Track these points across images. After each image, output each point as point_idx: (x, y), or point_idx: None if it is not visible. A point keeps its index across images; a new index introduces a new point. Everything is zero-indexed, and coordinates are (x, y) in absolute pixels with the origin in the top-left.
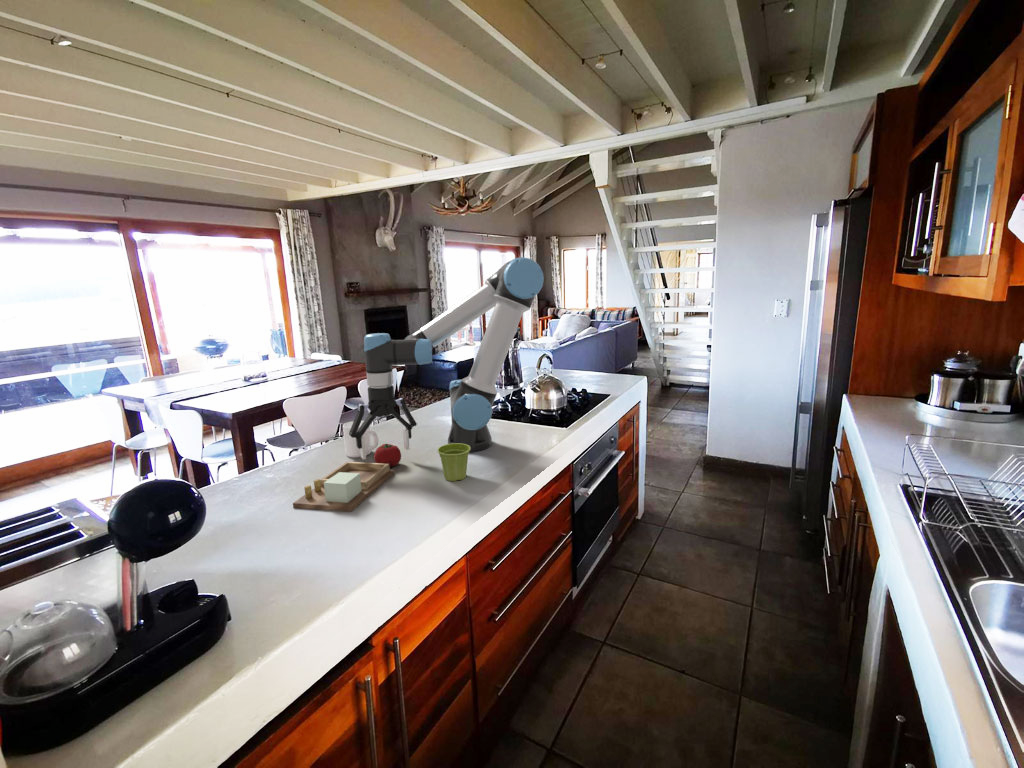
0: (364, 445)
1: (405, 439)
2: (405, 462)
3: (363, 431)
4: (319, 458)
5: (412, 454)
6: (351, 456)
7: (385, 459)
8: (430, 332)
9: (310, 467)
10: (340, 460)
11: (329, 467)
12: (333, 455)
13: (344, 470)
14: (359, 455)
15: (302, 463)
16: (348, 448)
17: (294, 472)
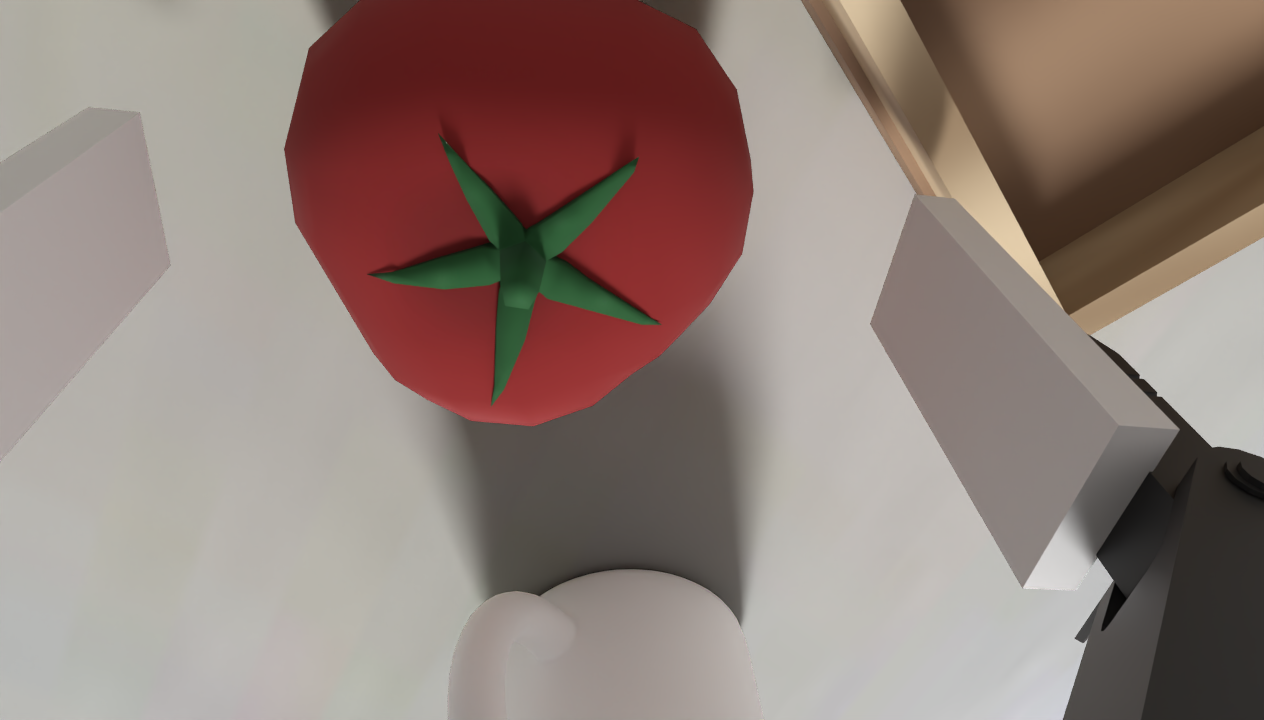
0: (1033, 321)
1: (45, 266)
2: (266, 81)
3: (1236, 573)
4: (916, 707)
5: None
6: (727, 607)
7: (648, 10)
8: None
9: (1092, 592)
10: (832, 593)
11: None
12: (804, 707)
13: (1128, 223)
14: (667, 581)
15: (1063, 687)
16: (757, 693)
17: None
